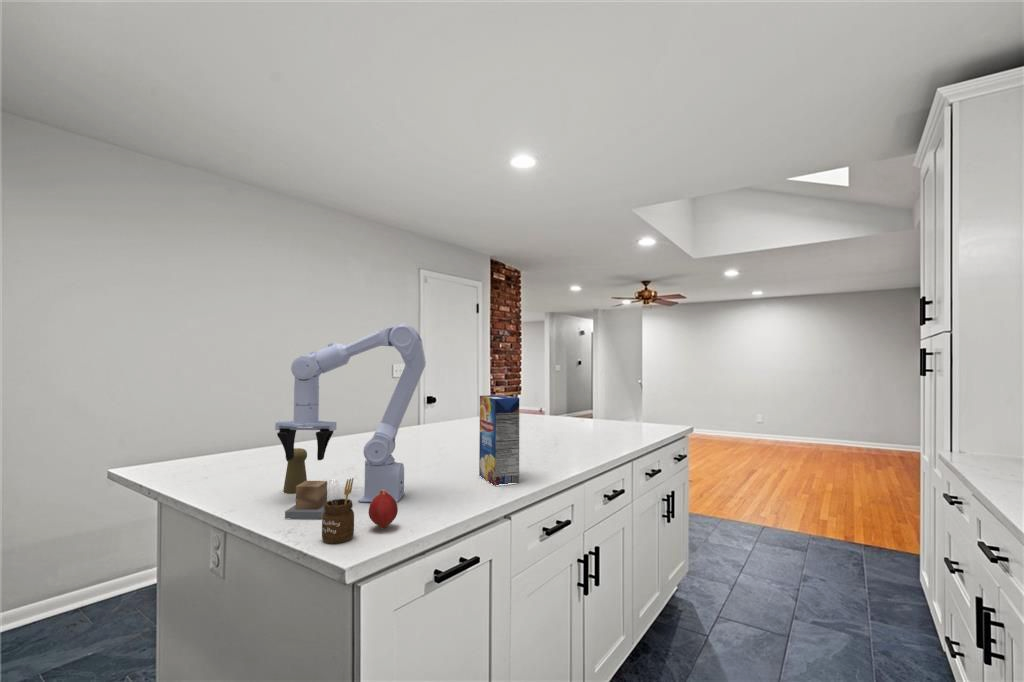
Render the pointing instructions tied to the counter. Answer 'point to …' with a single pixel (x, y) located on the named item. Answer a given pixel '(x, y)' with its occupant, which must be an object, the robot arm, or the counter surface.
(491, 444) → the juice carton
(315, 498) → the walnut cube
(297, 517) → the slate base
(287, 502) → the counter surface
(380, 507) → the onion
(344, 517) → the utensil holder
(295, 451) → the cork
